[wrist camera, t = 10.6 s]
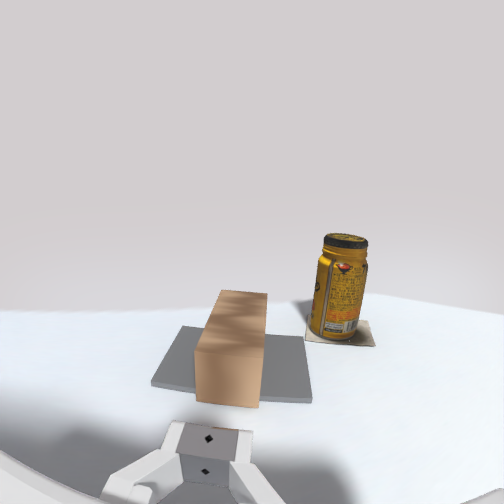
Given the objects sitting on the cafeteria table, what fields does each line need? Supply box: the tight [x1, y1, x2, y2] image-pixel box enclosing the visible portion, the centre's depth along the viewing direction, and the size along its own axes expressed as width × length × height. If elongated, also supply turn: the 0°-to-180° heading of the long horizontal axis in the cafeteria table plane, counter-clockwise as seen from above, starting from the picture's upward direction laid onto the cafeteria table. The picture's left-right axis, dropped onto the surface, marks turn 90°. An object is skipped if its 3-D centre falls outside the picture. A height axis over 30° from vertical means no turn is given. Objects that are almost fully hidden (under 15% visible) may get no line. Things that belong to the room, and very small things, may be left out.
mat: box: [151, 326, 312, 403], centre depth 30 cm, size 14×11×1 cm
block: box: [194, 290, 267, 408], centre depth 28 cm, size 5×5×13 cm
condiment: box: [305, 233, 376, 346], centre depth 36 cm, size 7×8×12 cm
